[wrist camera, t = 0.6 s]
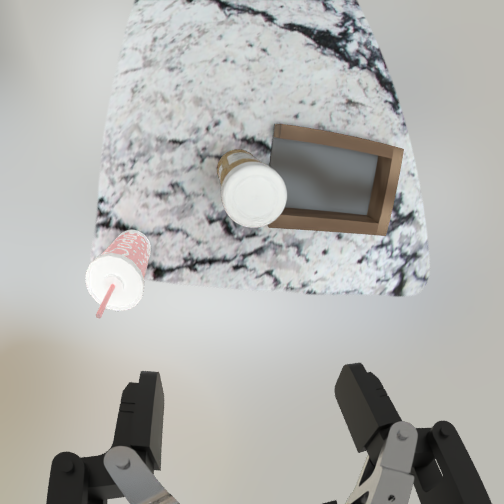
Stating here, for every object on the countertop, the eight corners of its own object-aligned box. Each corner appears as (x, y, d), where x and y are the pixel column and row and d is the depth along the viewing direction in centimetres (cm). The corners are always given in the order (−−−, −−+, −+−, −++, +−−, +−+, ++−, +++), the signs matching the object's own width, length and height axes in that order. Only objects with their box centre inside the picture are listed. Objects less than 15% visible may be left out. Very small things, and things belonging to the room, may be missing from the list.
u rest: (274, 123, 30) (281, 124, 27) (388, 145, 33) (403, 149, 30) (263, 217, 35) (268, 227, 32) (372, 226, 37) (385, 235, 34)
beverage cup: (164, 235, 34) (141, 301, 21) (148, 276, 36) (124, 352, 23) (118, 215, 32) (71, 272, 20) (105, 258, 34) (63, 327, 21)
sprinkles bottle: (210, 177, 32) (210, 212, 20) (229, 141, 31) (242, 153, 18) (246, 195, 33) (268, 239, 21) (265, 160, 32) (300, 184, 20)
